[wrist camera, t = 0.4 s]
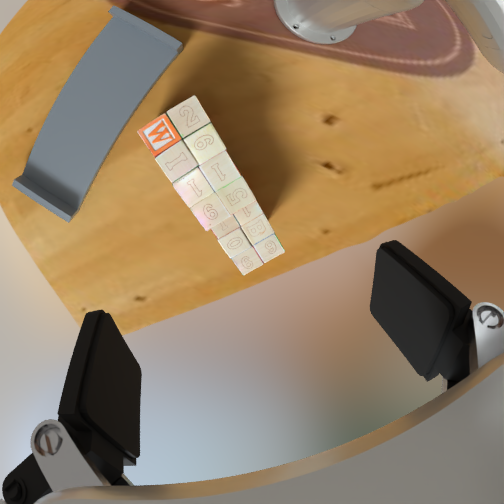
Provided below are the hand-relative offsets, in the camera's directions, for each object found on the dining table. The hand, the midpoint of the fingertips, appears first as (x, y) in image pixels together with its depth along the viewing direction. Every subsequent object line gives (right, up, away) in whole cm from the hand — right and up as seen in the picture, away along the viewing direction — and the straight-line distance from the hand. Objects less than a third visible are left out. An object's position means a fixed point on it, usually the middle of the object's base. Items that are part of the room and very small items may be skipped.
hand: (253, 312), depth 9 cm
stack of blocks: (-5, +13, +29) cm, 32 cm away
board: (-21, +20, +21) cm, 36 cm away
